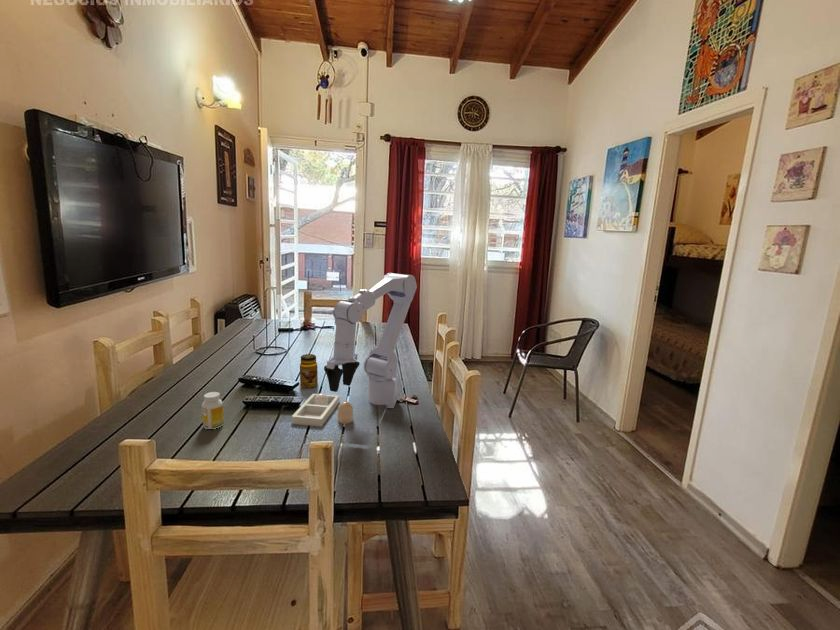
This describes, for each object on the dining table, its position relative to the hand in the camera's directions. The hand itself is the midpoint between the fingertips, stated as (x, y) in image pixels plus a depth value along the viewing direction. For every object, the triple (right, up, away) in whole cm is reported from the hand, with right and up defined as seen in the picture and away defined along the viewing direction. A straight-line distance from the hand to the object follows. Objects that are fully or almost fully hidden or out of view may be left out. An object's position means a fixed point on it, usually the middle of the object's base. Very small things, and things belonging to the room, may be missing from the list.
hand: (340, 387), depth 121 cm
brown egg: (+1, -11, +2) cm, 11 cm away
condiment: (-17, -5, +27) cm, 33 cm away
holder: (-8, -9, +6) cm, 14 cm away
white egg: (-8, -8, +10) cm, 15 cm away
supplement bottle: (-36, -11, -3) cm, 37 cm away
